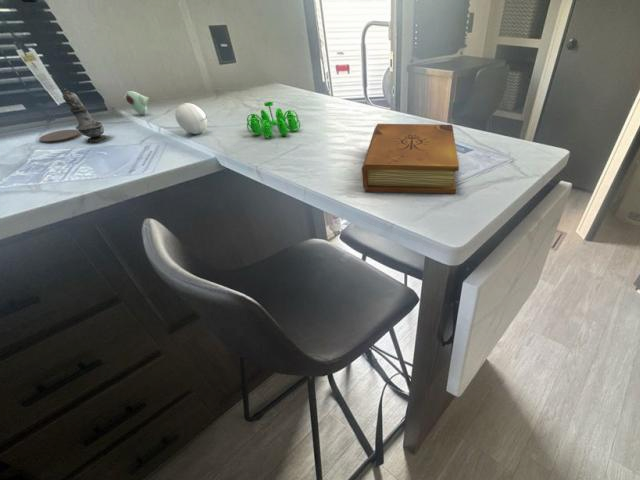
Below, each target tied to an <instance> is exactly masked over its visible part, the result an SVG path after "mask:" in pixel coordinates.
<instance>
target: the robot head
mask: <svg viewBox="0 0 640 480" xmlns="http://www.w3.org/2000/svg"><path fill="white" fill-rule="evenodd" d="M149 98H150V97H148V96H145V95H142V94H140V93H139V92H136V91H134V90H128V91H126V92H125V95H124V96H123V100H124V101H125V102H126V103H127V104H128V105H129V107H131V109H133V111H135V113H137V114H139V115H142V116H145V115H146V114H147V113H148V108H147V104H148V102H149Z"/></svg>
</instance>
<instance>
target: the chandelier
mask: <svg viewBox="0 0 640 480" xmlns="http://www.w3.org/2000/svg"><path fill="white" fill-rule="evenodd" d="M272 106H274V103H273V101H266V102H264V107H268V109H269V113H270V115H269V113H268V112H267V111H266V110H265V109H261V110H260V116H259V115H258V114H256V113H250V114H249V115H248V116H247V118H246V122H247V123H246V129H247V131H248V132H249V133H250V134H251V135H253V136H256V137H258V136H261V135H262V134H263V135H264V137H265V138H266V139H270V138H271V137H272V135H273V130H272V126H277V128H278V133H279V134H280V135H282V136H283V137H287V136H288V130H289V131H290V132H297V131H299V130H300V128H301V122H300V120H299V119H300V118H299V116H298V114H297V112H296V111H295V110H293V109H288V110H286V111H285V112H283V110H282V108H281V107H278V108H276V110H275V118H276V119H274V116H273V112H272V109H271V107H272ZM250 116H251V117H250ZM270 117H271V118H270ZM286 121H287V122H286ZM249 127H250V128H249ZM250 129H251V130H250ZM251 131H252V132H251Z"/></svg>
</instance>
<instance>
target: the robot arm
mask: <svg viewBox="0 0 640 480" xmlns="http://www.w3.org/2000/svg"><path fill="white" fill-rule="evenodd" d="M21 2H23V3H38V2H39V0H21Z"/></svg>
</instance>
